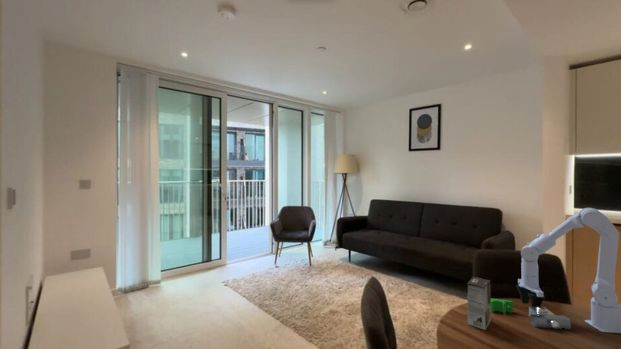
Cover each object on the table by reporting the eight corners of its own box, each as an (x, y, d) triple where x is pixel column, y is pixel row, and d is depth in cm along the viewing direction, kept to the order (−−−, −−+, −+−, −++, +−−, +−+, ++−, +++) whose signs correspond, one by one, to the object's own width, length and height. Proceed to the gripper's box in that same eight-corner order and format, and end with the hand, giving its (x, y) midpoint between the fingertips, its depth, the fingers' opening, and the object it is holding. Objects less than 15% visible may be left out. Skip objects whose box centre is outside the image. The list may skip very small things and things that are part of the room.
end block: (565, 325, 110) (565, 315, 110) (574, 331, 106) (574, 322, 106) (530, 323, 112) (530, 314, 112) (537, 329, 108) (537, 320, 108)
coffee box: (473, 315, 119) (472, 276, 119) (491, 321, 114) (491, 279, 114) (467, 324, 112) (466, 282, 112) (486, 330, 108) (485, 286, 108)
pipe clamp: (483, 311, 123) (482, 300, 123) (481, 307, 126) (481, 296, 126) (514, 315, 118) (514, 304, 118) (512, 311, 122) (512, 300, 122)
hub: (545, 316, 117) (545, 304, 117) (555, 324, 111) (555, 311, 111) (528, 315, 118) (528, 304, 118) (538, 322, 112) (537, 310, 112)
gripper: (510, 268, 130) (510, 299, 130) (529, 280, 116) (529, 314, 116) (527, 269, 129) (528, 300, 129) (549, 281, 115) (549, 315, 115)
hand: (530, 307), depth 122 cm, fingers open, 7 cm apart
